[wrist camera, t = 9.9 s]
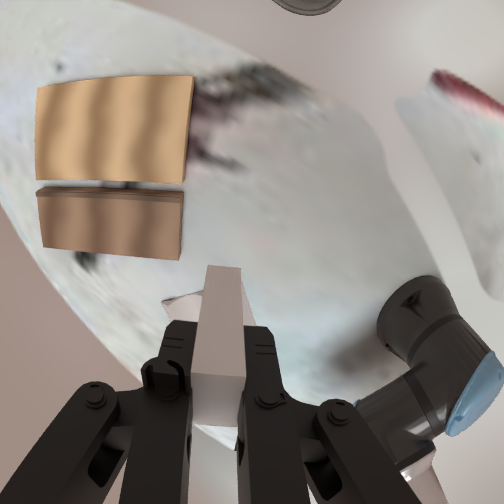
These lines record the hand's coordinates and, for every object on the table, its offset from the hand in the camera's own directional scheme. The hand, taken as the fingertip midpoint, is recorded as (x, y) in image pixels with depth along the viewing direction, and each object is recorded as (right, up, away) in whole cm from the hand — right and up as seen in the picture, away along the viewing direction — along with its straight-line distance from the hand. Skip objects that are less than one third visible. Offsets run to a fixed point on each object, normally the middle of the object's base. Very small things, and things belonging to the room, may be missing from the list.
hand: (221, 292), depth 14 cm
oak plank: (-16, +16, +15) cm, 27 cm away
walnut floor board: (-17, +6, +20) cm, 27 cm away
